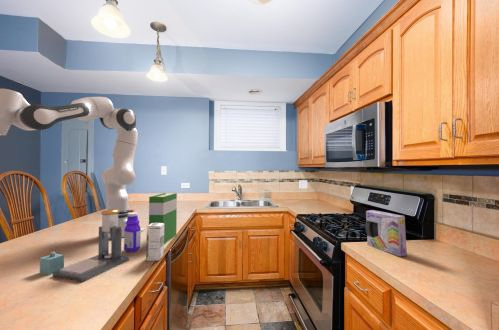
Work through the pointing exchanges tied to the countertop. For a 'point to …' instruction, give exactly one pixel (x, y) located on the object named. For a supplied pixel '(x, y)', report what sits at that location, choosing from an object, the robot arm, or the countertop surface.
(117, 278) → the countertop surface
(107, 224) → the press ram
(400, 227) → the cake pan box
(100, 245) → the base
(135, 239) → the bottle
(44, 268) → the block
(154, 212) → the green striped box
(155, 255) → the syrup box
